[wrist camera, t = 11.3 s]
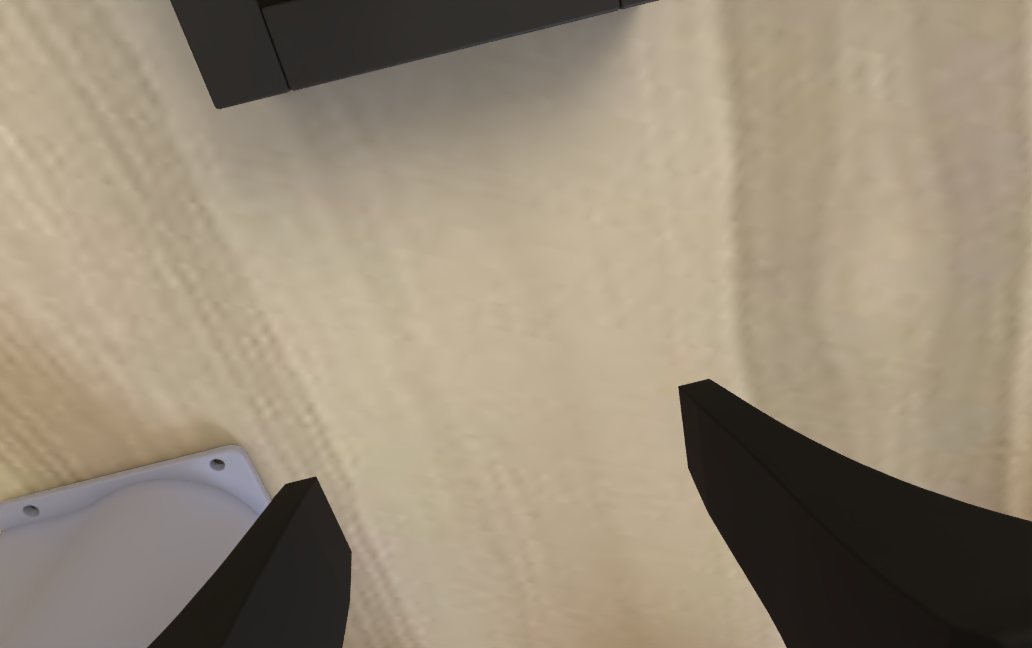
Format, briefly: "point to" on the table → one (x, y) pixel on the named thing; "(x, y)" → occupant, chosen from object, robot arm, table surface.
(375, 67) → the holder
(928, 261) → the table surface
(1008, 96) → the table surface
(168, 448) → the table surface
